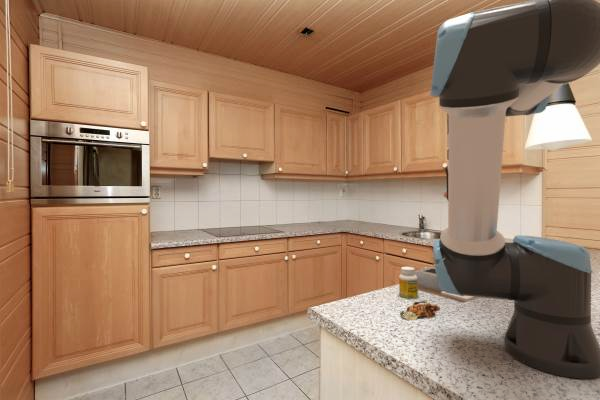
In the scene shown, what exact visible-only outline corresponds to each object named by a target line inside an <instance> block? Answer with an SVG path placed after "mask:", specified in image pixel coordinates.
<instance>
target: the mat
mask: <svg viewBox="0 0 600 400" xmlns="http://www.w3.org/2000/svg"><path fill="white" fill-rule="evenodd" d="M441 294H443V295H447V296H450V297H454V298H457V299H461V300H465V301H466V302H468V300H469V301H471V300H474V299H476V298H477V297H475V296H465V295H464V296H459V295H456V294H450V293H446V292H444V291H442V292H441ZM473 298H474V299H473Z"/></svg>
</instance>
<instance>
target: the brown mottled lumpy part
mask: <svg viewBox="0 0 600 400" xmlns="http://www.w3.org/2000/svg"><path fill="white" fill-rule="evenodd" d="M423 303H424V304H423ZM440 310H441V308H440V306H438V305H436V304H432V303H431V301H429V300H428V299H423V300H415V301H414V302H413V305H409V306H408V307H407V308H406V310H405V311H404V310H402V311H400V314H399V315H400V316H399V318H400V317H401V318H400V319H405V320H407V321H416V320H417V319H418V317H423V316H426V318H427V320H430V319H432V318H435V317H436V312H439V311H440ZM403 314H404V315H403ZM434 316H435V317H434Z"/></svg>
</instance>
